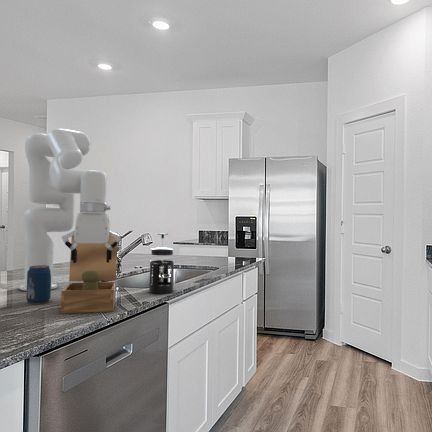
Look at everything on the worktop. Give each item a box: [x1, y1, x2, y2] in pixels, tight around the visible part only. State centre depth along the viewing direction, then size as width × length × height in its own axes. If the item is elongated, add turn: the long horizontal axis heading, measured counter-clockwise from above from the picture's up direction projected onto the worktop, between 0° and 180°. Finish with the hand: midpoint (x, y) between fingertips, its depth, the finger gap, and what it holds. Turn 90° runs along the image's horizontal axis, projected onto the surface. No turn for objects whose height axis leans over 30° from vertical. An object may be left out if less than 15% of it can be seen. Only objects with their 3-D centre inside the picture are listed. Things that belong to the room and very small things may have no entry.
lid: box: [68, 232, 119, 282], centre depth 147 cm, size 16×15×1 cm
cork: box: [82, 271, 100, 290], centre depth 137 cm, size 6×6×11 cm
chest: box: [60, 281, 117, 315], centre depth 138 cm, size 16×15×7 cm
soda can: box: [26, 265, 52, 305], centre depth 143 cm, size 7×7×12 cm
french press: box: [148, 232, 175, 295], centre depth 167 cm, size 12×9×23 cm
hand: (91, 262), depth 137 cm, fingers open, 9 cm apart
